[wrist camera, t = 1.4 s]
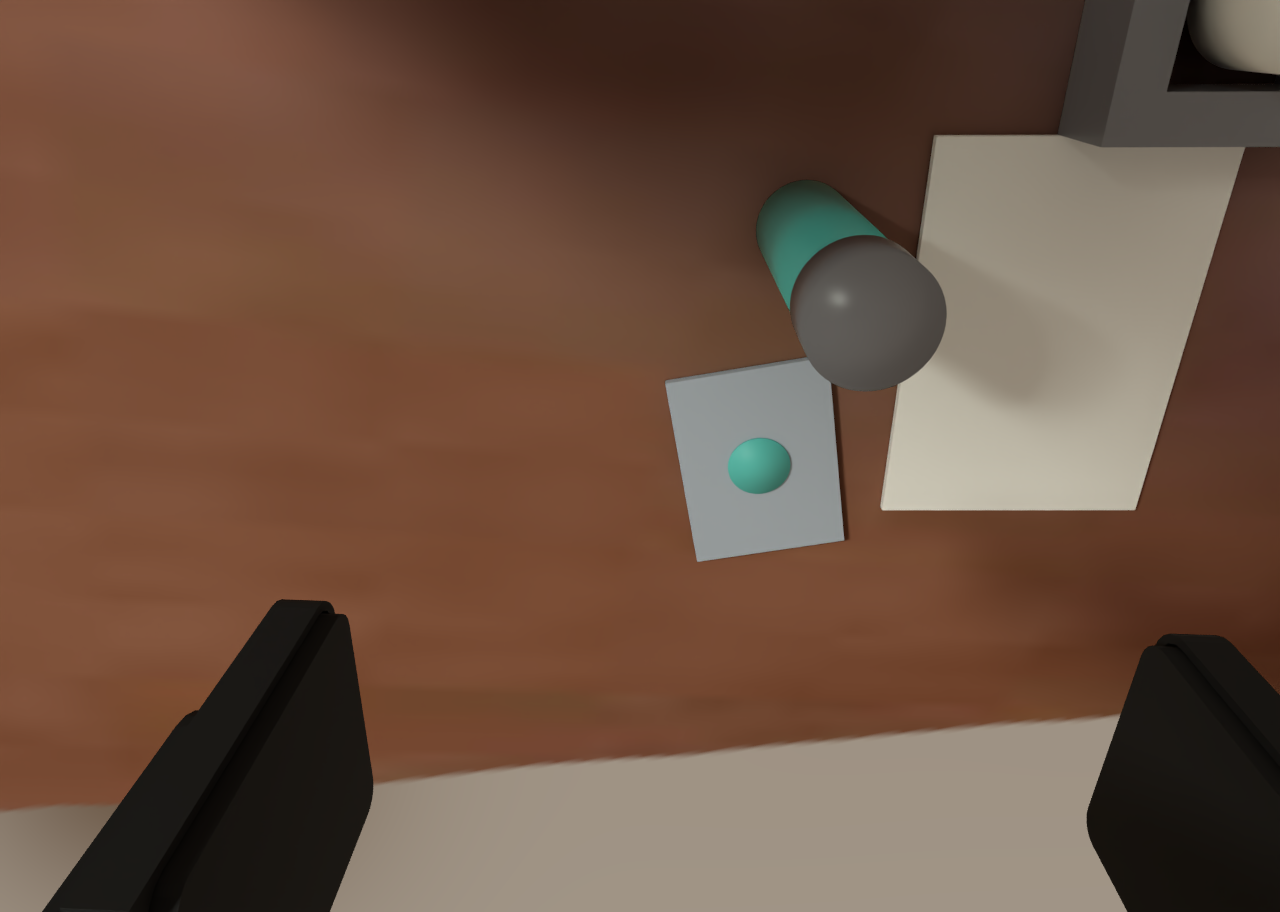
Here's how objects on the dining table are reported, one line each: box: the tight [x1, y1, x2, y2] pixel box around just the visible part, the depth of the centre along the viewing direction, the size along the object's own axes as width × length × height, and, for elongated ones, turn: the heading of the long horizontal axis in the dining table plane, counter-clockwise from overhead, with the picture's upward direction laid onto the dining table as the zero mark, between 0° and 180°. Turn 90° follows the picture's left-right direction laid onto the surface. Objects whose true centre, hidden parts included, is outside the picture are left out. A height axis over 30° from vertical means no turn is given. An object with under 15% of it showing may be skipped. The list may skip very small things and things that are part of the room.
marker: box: [756, 180, 947, 391], centre depth 25 cm, size 3×3×10 cm
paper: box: [880, 135, 1245, 510], centre depth 31 cm, size 14×10×1 cm
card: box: [665, 357, 844, 562], centre depth 33 cm, size 8×6×1 cm
